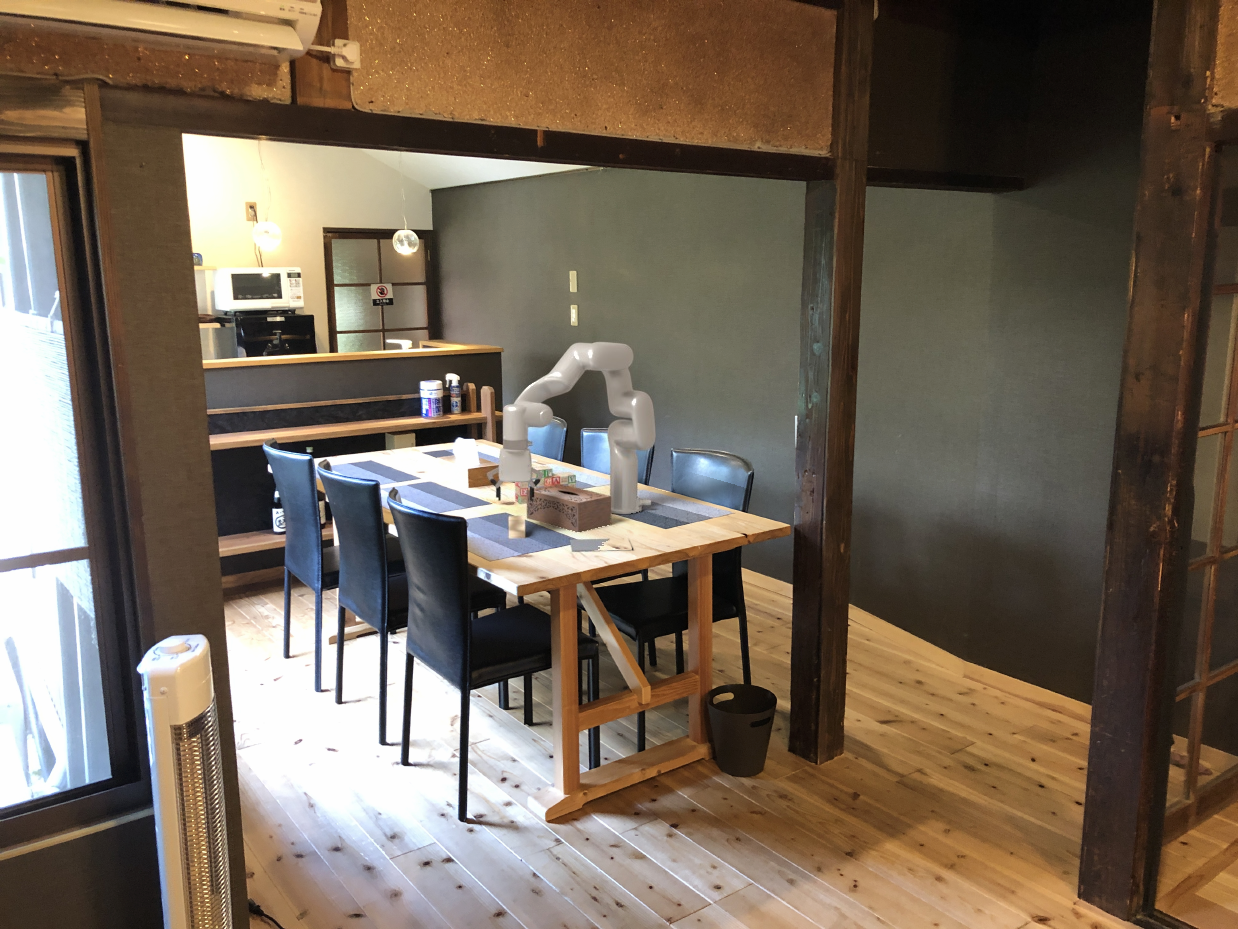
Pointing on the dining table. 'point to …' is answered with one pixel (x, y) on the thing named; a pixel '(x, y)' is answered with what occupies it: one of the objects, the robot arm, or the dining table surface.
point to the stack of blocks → (543, 482)
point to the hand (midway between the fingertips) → (515, 499)
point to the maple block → (516, 527)
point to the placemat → (586, 544)
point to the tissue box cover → (569, 507)
